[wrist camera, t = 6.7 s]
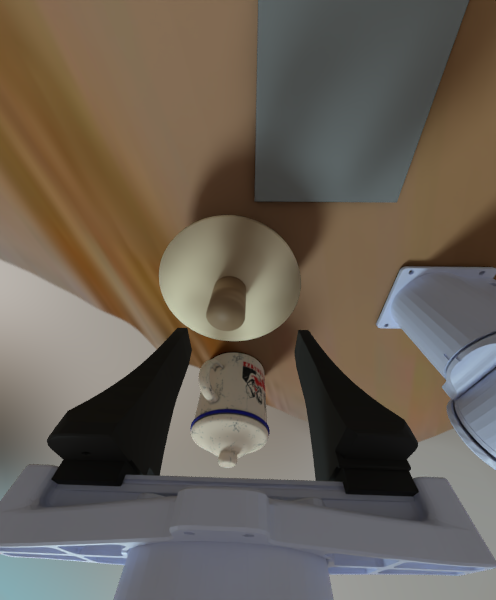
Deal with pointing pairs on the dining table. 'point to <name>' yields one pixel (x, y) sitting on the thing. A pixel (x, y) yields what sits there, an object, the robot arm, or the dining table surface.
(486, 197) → the dining table surface
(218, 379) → the teacup with lid
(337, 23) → the mat
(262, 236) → the lid
